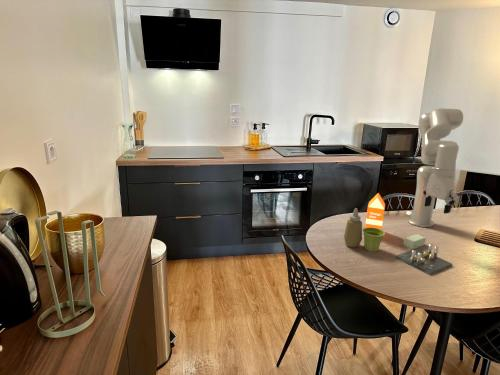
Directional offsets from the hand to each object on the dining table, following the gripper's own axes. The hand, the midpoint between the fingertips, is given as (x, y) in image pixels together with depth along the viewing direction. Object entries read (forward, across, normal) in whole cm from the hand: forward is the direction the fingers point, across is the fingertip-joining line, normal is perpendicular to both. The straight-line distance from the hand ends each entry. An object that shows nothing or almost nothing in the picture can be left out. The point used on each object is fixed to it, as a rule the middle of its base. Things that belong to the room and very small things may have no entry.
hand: (436, 209), depth 155 cm
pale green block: (+19, -5, -4) cm, 20 cm away
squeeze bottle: (+19, -16, -32) cm, 40 cm away
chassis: (+19, +8, -14) cm, 25 cm away
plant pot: (+19, -10, -26) cm, 34 cm away
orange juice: (+19, -23, -12) cm, 32 cm away
